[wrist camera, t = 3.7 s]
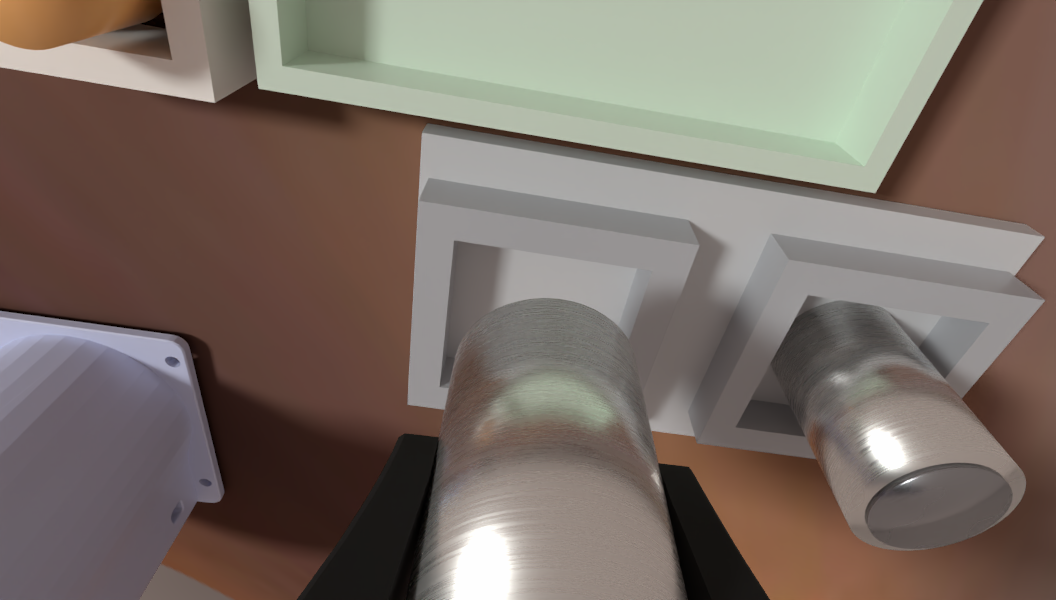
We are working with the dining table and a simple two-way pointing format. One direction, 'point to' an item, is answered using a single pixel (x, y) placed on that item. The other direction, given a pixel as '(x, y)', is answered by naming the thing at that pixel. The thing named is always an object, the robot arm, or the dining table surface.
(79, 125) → the dining table surface
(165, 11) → the button housing
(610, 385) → the cylinder
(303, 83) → the tray
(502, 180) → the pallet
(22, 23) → the button cap
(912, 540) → the cylinder
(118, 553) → the robot arm
